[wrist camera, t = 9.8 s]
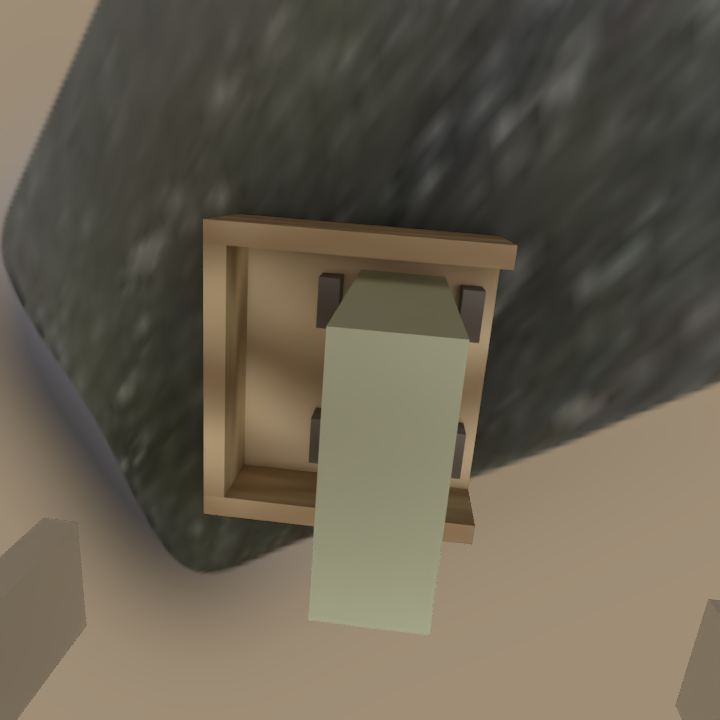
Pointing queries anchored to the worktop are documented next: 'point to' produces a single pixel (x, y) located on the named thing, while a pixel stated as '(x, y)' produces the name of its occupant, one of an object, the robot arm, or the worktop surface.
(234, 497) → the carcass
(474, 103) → the worktop surface
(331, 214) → the worktop surface
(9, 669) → the robot arm
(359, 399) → the door
